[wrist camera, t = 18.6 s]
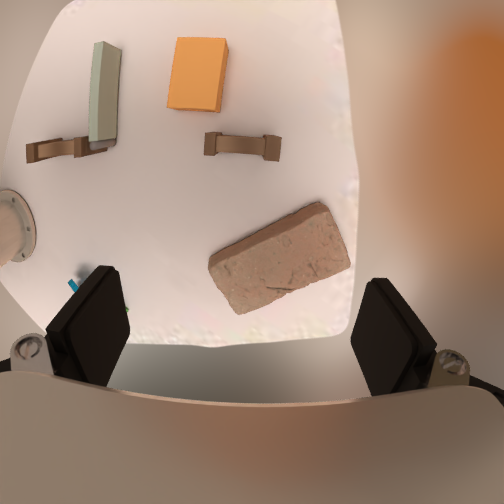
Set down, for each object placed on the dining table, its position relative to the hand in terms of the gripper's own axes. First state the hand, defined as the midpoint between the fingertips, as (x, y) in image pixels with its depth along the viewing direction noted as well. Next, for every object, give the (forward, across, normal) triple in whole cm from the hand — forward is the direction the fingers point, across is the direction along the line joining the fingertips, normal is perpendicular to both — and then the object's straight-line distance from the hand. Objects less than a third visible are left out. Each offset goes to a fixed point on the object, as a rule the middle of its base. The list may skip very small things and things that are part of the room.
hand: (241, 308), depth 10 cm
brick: (+26, -5, +10) cm, 28 cm away
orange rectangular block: (+26, +6, -12) cm, 29 cm away
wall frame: (+26, +12, -5) cm, 29 cm away
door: (+25, +17, -11) cm, 33 cm away
